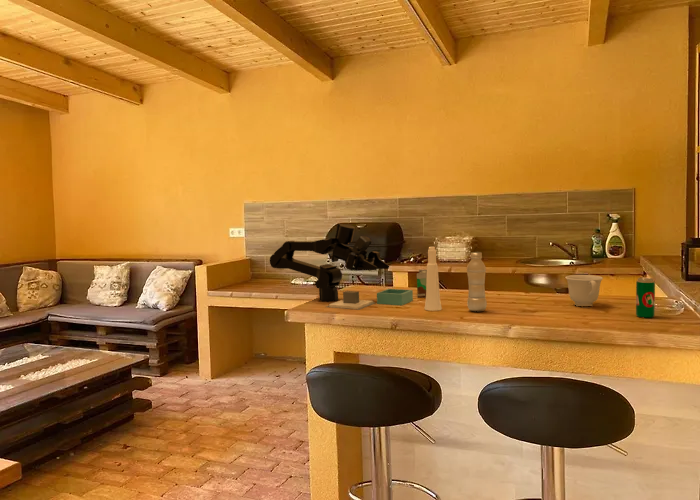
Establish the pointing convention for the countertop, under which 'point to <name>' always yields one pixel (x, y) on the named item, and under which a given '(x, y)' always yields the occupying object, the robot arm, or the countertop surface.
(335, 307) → the mat
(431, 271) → the cosmetic bottle
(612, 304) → the countertop surface
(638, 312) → the soda can
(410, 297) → the dish
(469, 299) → the plastic bottle
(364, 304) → the lid
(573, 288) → the teacup
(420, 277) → the food container
